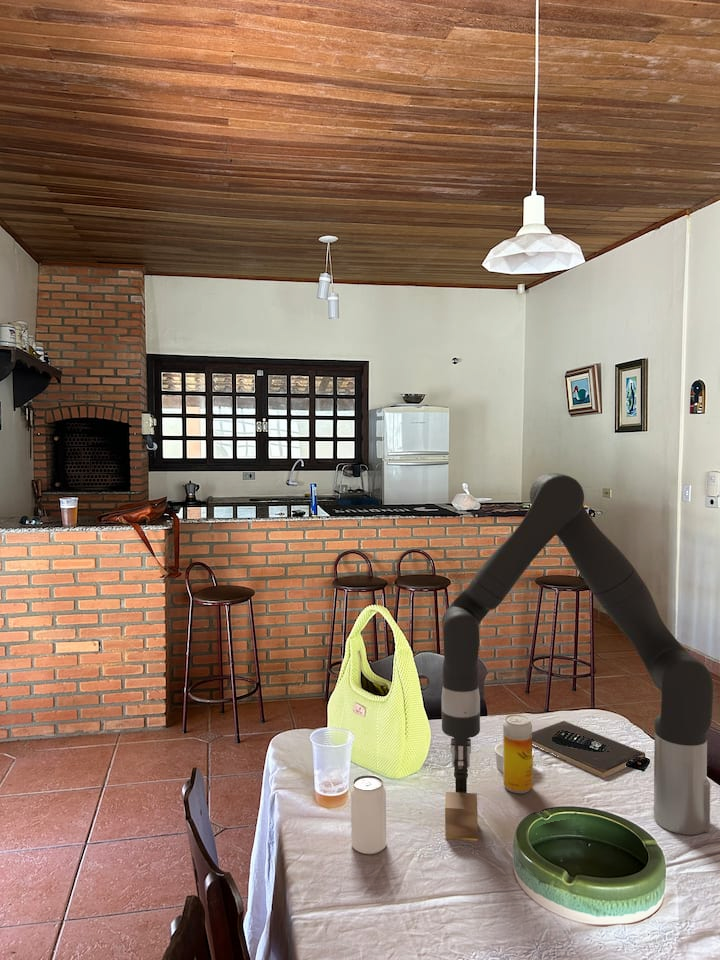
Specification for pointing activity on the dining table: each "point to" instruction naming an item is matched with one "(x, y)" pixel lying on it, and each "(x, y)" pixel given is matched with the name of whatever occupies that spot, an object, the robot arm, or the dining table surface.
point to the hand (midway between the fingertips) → (461, 793)
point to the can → (368, 814)
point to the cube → (461, 816)
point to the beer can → (517, 753)
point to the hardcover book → (585, 759)
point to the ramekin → (500, 756)
